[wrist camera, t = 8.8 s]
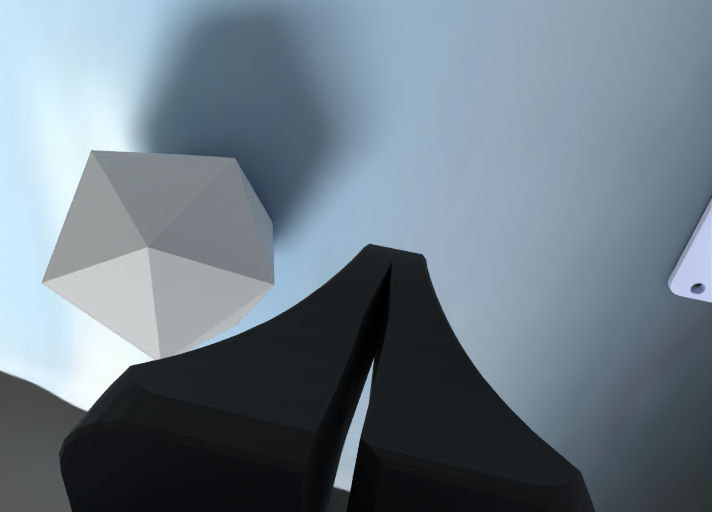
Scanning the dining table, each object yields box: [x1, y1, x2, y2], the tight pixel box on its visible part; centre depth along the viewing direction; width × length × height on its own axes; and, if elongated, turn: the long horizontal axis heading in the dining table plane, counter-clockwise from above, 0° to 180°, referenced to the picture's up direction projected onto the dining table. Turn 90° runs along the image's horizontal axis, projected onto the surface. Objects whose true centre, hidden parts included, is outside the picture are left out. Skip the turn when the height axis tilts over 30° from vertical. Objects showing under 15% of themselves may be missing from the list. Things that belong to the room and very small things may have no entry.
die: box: [42, 150, 274, 360], centre depth 21 cm, size 8×9×10 cm
